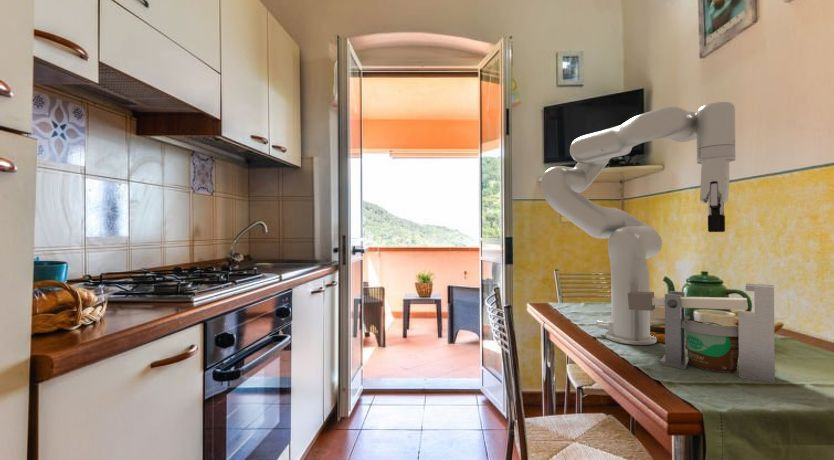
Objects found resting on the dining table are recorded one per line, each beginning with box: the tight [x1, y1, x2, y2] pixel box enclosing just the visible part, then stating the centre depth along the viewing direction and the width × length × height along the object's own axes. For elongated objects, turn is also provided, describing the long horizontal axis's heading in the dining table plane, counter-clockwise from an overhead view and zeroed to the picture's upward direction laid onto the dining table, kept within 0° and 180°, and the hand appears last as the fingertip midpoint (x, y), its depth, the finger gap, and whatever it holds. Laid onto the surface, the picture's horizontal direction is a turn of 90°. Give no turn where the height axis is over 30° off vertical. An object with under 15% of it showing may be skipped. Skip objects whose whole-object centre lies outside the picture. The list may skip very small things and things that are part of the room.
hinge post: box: [659, 290, 690, 370], centre depth 94 cm, size 5×8×16 cm, turn 139°
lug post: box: [737, 283, 776, 384], centre depth 84 cm, size 6×5×19 cm
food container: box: [681, 315, 739, 373], centre depth 90 cm, size 12×6×10 cm, turn 21°
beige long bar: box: [628, 291, 749, 312], centre depth 93 cm, size 22×4×4 cm, turn 49°
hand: (716, 231), depth 98 cm, fingers closed
